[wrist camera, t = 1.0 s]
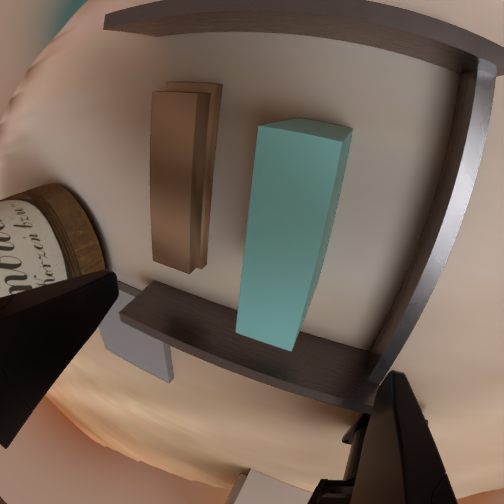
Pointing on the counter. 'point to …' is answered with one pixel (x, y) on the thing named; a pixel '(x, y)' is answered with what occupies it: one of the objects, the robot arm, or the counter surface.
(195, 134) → the offcut top
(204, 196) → the board
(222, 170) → the counter surface
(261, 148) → the block
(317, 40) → the counter surface
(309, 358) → the rack
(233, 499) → the grey tall angular piece
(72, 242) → the wooden container
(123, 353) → the mat
